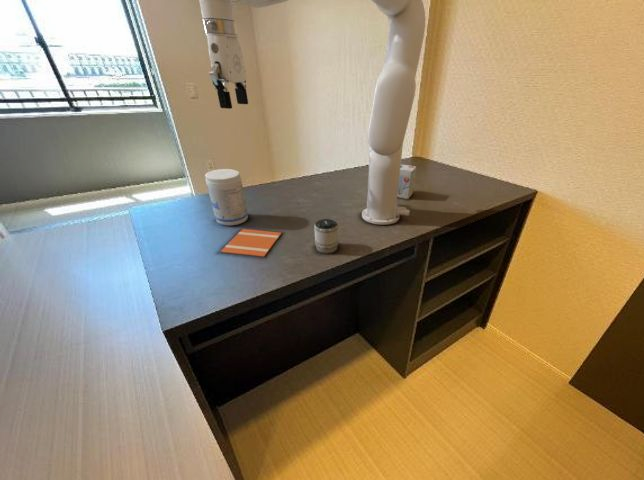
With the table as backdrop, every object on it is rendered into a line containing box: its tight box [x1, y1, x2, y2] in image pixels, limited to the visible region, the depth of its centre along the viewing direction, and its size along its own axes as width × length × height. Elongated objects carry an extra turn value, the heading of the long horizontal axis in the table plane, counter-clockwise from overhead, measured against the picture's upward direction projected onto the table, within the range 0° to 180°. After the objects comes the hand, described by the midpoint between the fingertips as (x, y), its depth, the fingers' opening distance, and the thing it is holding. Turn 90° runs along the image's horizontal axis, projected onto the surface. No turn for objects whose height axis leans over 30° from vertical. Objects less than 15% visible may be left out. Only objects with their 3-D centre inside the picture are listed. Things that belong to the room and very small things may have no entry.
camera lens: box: [313, 218, 339, 254], centre depth 80 cm, size 6×6×8 cm
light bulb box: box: [397, 163, 417, 200], centre depth 114 cm, size 11×7×11 cm, turn 68°
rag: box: [220, 228, 283, 258], centre depth 84 cm, size 12×13×1 cm
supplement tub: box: [204, 168, 249, 227], centre depth 90 cm, size 10×10×15 cm
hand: (235, 106), depth 86 cm, fingers open, 9 cm apart
